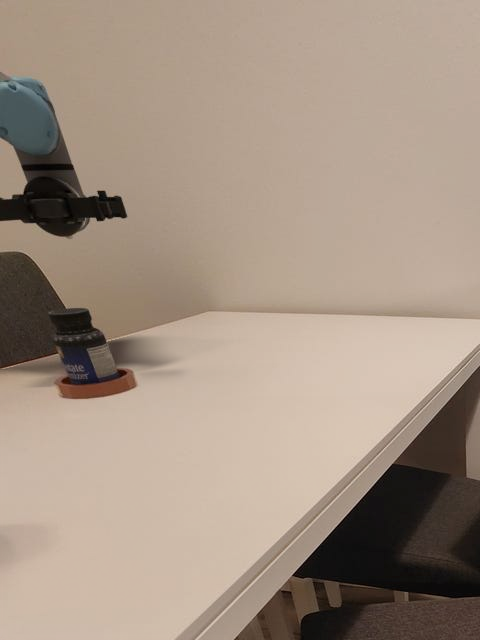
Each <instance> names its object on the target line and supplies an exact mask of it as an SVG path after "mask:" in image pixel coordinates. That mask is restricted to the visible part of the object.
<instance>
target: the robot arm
mask: <svg viewBox="0 0 480 640" xmlns="http://www.w3.org/2000/svg"><path fill="white" fill-rule="evenodd" d="M0 139H2V140H3V141H6V142H7V143H8V144H9V145H11V146H12V147H13V149H14V152H15V154H16V156H17V159H18V162H19V164H20V167H21V169H22V172H23V175H24V177H25V180H26V184H25V186H24V188H23V192H22V193H17V194H12V195H11V198H4V197H0V222H9V221H10V222H11V221H21V222H22V223H23V224H35V225H37V226H38V227H39V228H40V229H41V230H43V231H44V232H45V233H48V234H50V235H53V236H56V237H61V238H66V239H68V240H71V239H73V236H74V235H76V234H77V233H79V232H82V231H83V230H85V229H86V228H87V226H88V225H89V224H90V221H91V219H95V220H96V222H104V221H106V219H108V220H113V219H114V218H120V219H127V218H128V213H127V211H126V208H125V205H124V204H125V203H124V201H123V198H122V196H120V195H114V196H108V195H107V192H106V190H96V192H97V193H96V194H97V195H90V196H86V195H85V194H84V192H83V189H82V186H81V184H80V181H79V177H78V175H77V172H76V170H75V167H74V164H73V162H72V159H71V156H70V153H69V151H68V150H69V149H68V147H67V143H66V141H65V138H64V135H63V133H62V130H61V126H60V123H59V120H58V118H57V115H56V110H55V107H54V105H53V102H52V100H51V99H50V96H49V94H48V91H47V89H46V86H45V85H44V84H43V83H42V82H41V81H40V80H39V79H37V78H33V77H26V76H14V75H13V76H11V75H10V76H8V75H6V74H5V73H3V72H2V71H0Z"/></svg>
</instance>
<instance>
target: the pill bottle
mask: <svg viewBox="0 0 480 640" xmlns="http://www.w3.org/2000/svg"><path fill="white" fill-rule="evenodd" d="M47 313H48V318H49V319H50V322H51V324H52V325H54V326H55V330H56V331H55V332H54V334H53V336H52V341H53V344H54V347H55V348H56V351H57V353H58V355H59V358H60V360H61V363H62V365H63V368H64V370H65V372H66V375H68V377H69V379H70V381H71V384H72V385H86V384H95V383H102V382H107V381H111V380H115V379H118V378H120V376H119V373H118V371H117V368H118V367H117V366H116V363H115V360H114V358H113V355H112V352H111V349H110V347H109V345H108V341H107V339H106V337H105V334H104V333H103V332H102V330H101V329H99V328H97V327H94V326H93V323H92V320H93V317H92V315H91V312H90V310H89V309H88V308H86V307H70V308H61V309H54V310H51V311H48V312H47Z"/></svg>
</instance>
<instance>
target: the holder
mask: <svg viewBox="0 0 480 640" xmlns="http://www.w3.org/2000/svg"><path fill="white" fill-rule="evenodd" d="M116 368H117V371H118V373H119V376H120V378H118V379H115V380H111V381H107V382H102V383H95V384H86V385H72V384H71V381H70V379H69V377H68V374H65V375H62V376H60V377H59V378H56V379H55V381H54V386H55V388H56V390H57V393H58V394H59V396H60V397H62V398H64V399H71V400H84V399H85V400H86V399H87V400H88V399H96V398H104V397H109V396H113V395H118V394H122V393H125V392H128V391H130V390H133V389H134V388H135V387H137V386H139V383H138V380H137V377H136V374H135V372H134V370H133V369H130V368H126V367H116Z"/></svg>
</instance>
